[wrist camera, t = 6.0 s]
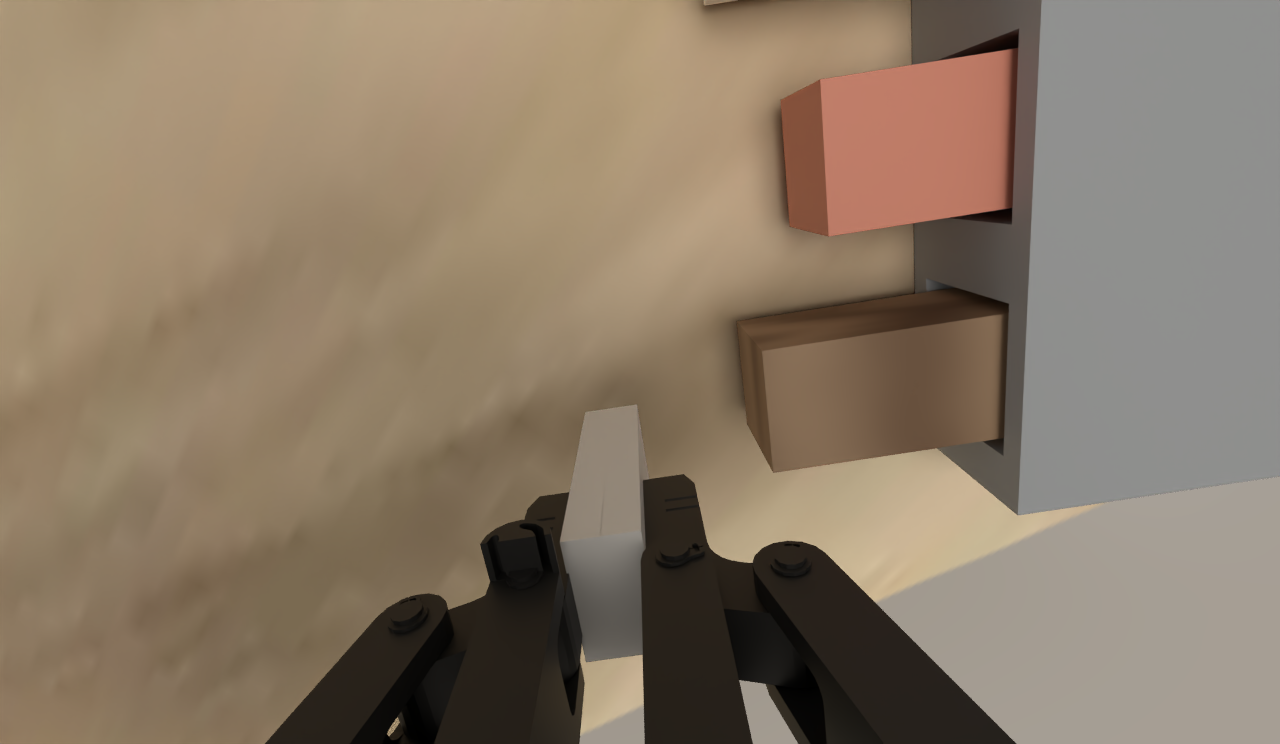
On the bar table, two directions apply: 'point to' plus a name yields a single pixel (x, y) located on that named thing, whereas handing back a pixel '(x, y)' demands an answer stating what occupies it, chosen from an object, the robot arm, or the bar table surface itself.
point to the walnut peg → (875, 377)
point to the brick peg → (902, 144)
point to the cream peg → (715, 1)
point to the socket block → (1124, 245)
